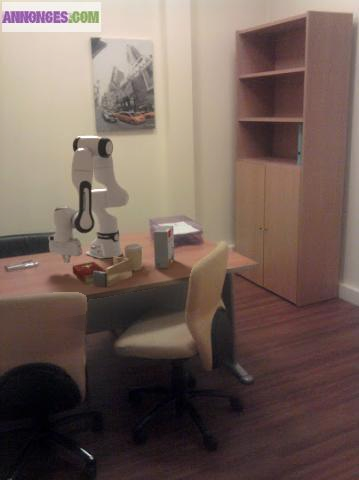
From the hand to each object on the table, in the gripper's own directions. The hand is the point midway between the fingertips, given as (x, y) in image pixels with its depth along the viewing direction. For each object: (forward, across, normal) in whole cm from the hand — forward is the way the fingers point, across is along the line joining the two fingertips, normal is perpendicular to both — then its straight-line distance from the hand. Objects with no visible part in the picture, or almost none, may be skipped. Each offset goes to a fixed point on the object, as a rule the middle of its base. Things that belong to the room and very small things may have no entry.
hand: (66, 262), depth 245 cm
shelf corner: (+5, -30, 0) cm, 30 cm away
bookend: (+6, -30, +9) cm, 32 cm away
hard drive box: (+5, -41, -32) cm, 52 cm away
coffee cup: (+5, -29, -20) cm, 36 cm away
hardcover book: (+6, -15, -1) cm, 16 cm away
